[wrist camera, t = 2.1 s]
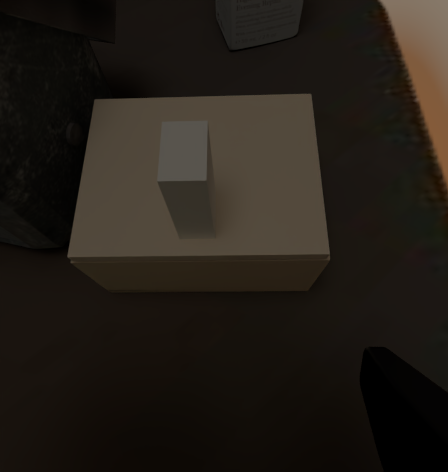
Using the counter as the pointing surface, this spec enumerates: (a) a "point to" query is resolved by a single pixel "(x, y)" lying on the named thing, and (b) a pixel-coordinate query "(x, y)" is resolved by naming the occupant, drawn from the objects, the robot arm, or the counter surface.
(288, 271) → the carton
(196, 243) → the lid
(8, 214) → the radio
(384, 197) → the counter surface
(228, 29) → the skincare box
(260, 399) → the counter surface
